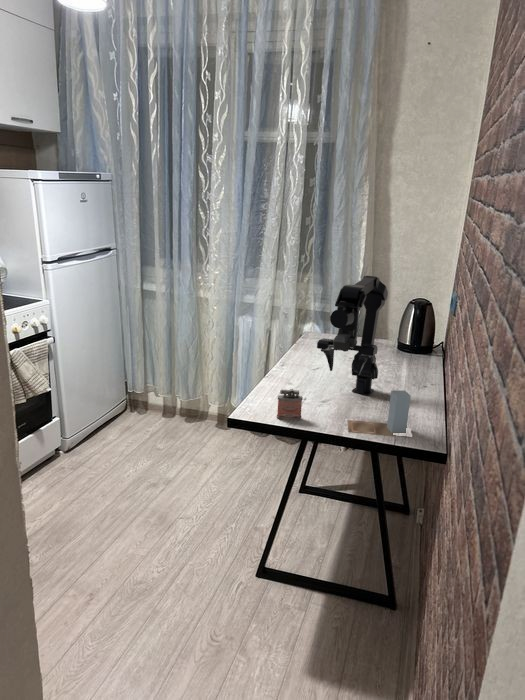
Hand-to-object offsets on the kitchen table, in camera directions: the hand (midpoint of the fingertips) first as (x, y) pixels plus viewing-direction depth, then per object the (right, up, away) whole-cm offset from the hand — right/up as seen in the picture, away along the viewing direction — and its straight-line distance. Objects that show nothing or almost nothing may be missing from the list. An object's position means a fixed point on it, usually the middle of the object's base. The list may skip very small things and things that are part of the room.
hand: (344, 372), depth 176 cm
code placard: (+10, -18, -5) cm, 21 cm away
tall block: (+16, -18, -5) cm, 24 cm away
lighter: (-18, -15, +1) cm, 24 cm away
